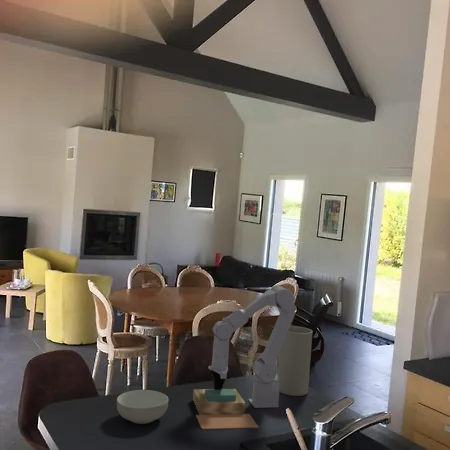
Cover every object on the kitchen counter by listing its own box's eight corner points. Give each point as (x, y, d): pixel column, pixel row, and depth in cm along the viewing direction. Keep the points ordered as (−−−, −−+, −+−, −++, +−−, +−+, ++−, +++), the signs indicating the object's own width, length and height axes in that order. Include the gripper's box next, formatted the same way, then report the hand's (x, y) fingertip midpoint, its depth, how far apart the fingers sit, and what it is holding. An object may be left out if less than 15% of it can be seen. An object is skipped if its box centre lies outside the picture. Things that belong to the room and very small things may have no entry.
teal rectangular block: (231, 394, 190) (232, 389, 190) (235, 400, 185) (236, 395, 185) (204, 395, 188) (205, 389, 188) (208, 401, 182) (208, 395, 182)
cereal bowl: (147, 405, 185) (148, 386, 185) (177, 421, 173) (178, 400, 173) (105, 416, 173) (107, 395, 173) (134, 434, 161) (136, 411, 161)
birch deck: (234, 399, 197) (235, 389, 197) (244, 414, 184) (245, 402, 183) (192, 400, 193) (193, 389, 193) (199, 415, 180) (200, 403, 180)
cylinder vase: (290, 384, 220) (294, 325, 219) (314, 393, 211) (318, 331, 210) (270, 389, 211) (274, 327, 211) (294, 399, 202) (298, 334, 201)
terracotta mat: (249, 414, 183) (249, 413, 183) (258, 427, 173) (258, 426, 173) (195, 415, 179) (195, 415, 179) (201, 429, 168) (201, 428, 168)
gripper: (205, 349, 196) (203, 385, 196) (213, 360, 182) (211, 399, 182) (224, 349, 198) (221, 385, 198) (233, 360, 184) (230, 399, 184)
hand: (217, 392), depth 190 cm, fingers closed
